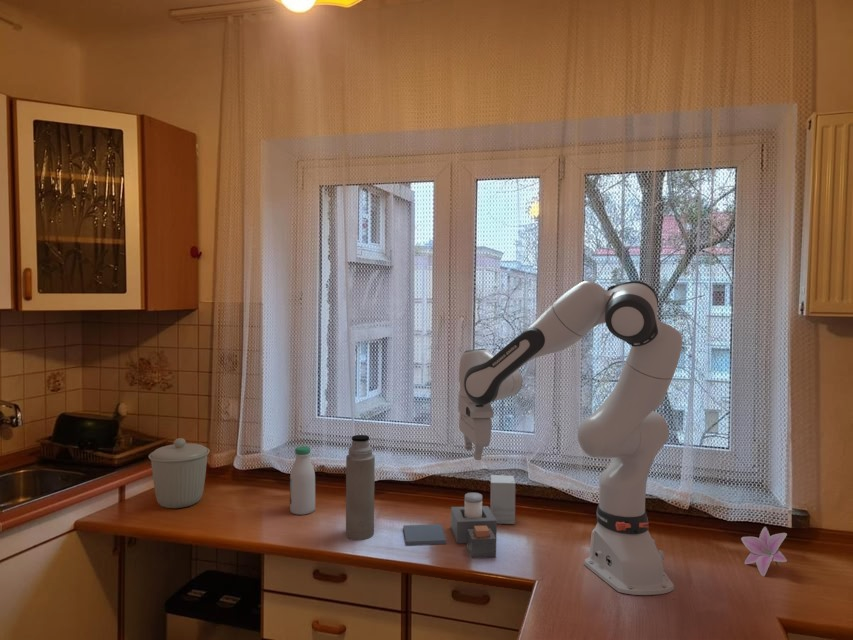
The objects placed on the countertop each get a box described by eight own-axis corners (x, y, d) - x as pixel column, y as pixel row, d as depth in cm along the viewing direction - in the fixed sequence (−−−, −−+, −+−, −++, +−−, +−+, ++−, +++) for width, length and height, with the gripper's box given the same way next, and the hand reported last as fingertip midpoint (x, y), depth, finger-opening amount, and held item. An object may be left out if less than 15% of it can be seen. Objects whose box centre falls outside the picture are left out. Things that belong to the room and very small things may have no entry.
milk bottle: (320, 509, 178) (320, 446, 178) (302, 517, 172) (302, 452, 171) (302, 504, 183) (302, 443, 182) (284, 512, 176) (284, 448, 175)
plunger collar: (495, 557, 147) (496, 538, 147) (471, 558, 146) (471, 539, 146) (490, 546, 153) (490, 528, 153) (467, 547, 152) (467, 529, 152)
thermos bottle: (361, 525, 166) (362, 431, 165) (379, 533, 161) (380, 436, 160) (340, 534, 160) (340, 436, 159) (358, 542, 155) (358, 441, 154)
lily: (740, 556, 151) (729, 529, 149) (787, 545, 148) (776, 517, 146) (757, 592, 140) (745, 562, 138) (808, 581, 137) (797, 550, 134)
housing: (496, 541, 156) (496, 520, 156) (457, 543, 155) (457, 521, 155) (487, 525, 167) (488, 505, 167) (450, 527, 166) (451, 507, 166)
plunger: (489, 553, 148) (489, 530, 148) (476, 553, 148) (476, 531, 147) (486, 547, 151) (486, 525, 151) (473, 548, 151) (474, 525, 151)
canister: (170, 491, 193) (170, 430, 192) (220, 495, 190) (220, 433, 190) (136, 511, 175) (135, 444, 174) (190, 515, 173) (190, 447, 172)
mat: (446, 543, 155) (446, 540, 155) (406, 545, 153) (406, 541, 153) (440, 527, 166) (440, 524, 166) (403, 528, 164) (403, 525, 164)
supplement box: (513, 515, 176) (514, 475, 175) (515, 525, 168) (515, 483, 168) (489, 514, 176) (490, 474, 176) (490, 523, 169) (490, 481, 168)
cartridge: (483, 537, 159) (484, 498, 158) (465, 538, 158) (466, 498, 158) (479, 530, 164) (480, 492, 163) (462, 531, 163) (463, 492, 163)
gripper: (454, 399, 168) (453, 445, 169) (472, 413, 148) (471, 465, 149) (474, 399, 170) (474, 444, 170) (495, 413, 150) (494, 464, 150)
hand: (473, 454), depth 159 cm, fingers open, 8 cm apart
